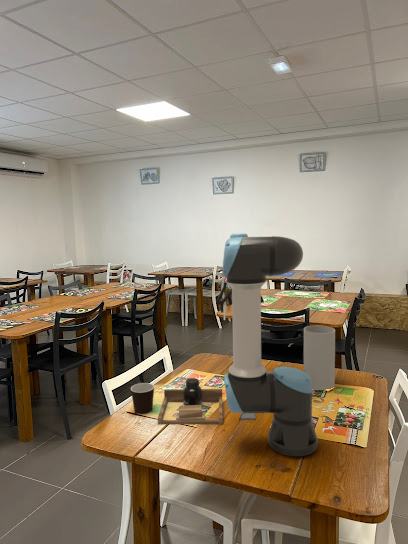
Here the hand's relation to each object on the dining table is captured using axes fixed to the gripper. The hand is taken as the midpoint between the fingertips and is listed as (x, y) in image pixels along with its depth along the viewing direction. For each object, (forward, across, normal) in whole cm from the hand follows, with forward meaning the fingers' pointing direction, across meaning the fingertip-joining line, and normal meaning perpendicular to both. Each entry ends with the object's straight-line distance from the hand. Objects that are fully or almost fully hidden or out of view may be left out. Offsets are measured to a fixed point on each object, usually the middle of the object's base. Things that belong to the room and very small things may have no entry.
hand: (240, 319), depth 170 cm
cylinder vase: (+29, -32, +5) cm, 44 cm away
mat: (+29, +3, +27) cm, 39 cm away
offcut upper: (+26, +20, +34) cm, 47 cm away
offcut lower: (+29, +20, +35) cm, 49 cm away
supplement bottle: (+29, +19, +26) cm, 43 cm away
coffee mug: (+29, +37, +26) cm, 54 cm away
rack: (+29, +20, +29) cm, 45 cm away
